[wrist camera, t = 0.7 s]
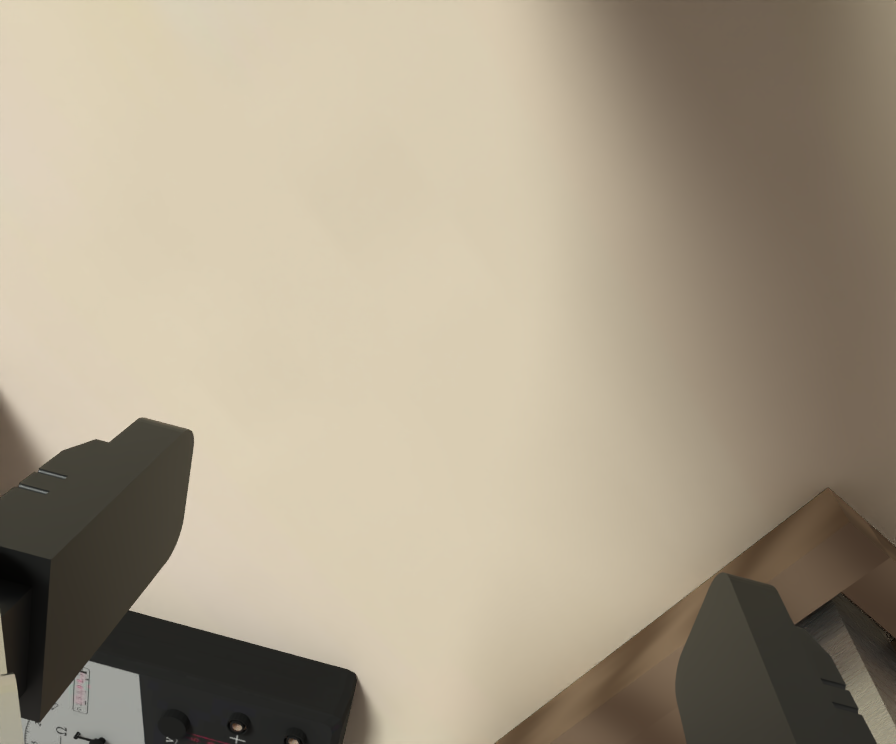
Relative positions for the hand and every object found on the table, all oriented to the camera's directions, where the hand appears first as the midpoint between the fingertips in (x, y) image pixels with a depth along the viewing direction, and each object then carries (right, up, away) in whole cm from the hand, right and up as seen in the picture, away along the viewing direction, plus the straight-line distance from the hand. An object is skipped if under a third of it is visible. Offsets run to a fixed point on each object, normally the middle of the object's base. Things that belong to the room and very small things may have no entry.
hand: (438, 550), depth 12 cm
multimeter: (-15, -15, +30) cm, 37 cm away
